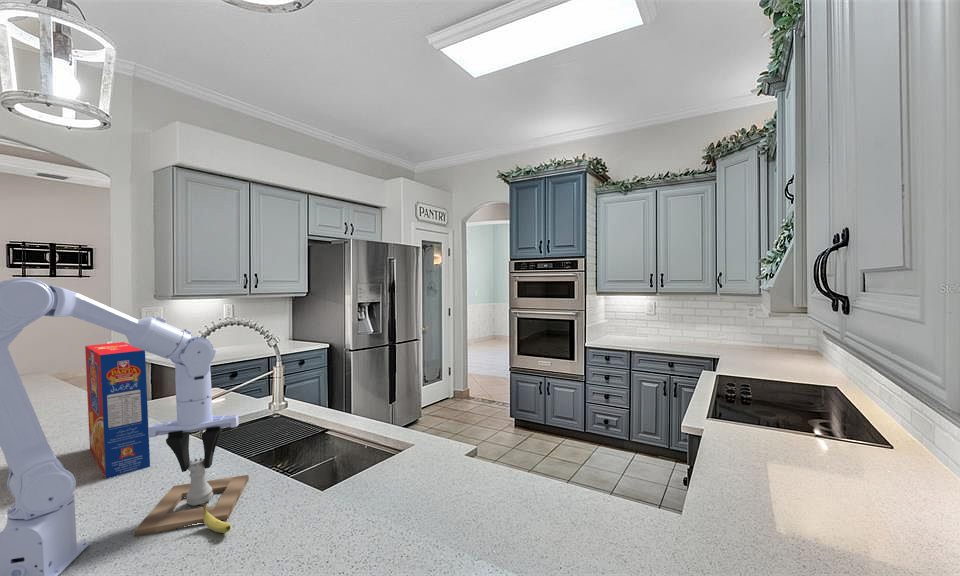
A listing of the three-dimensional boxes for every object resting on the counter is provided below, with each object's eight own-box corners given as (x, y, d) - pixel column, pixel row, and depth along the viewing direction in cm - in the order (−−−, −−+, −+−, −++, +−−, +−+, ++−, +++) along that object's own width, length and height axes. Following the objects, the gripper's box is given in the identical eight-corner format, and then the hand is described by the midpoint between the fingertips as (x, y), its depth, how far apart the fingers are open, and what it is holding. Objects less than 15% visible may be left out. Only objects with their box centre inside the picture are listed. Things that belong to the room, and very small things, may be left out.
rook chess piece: (198, 508, 81) (195, 468, 80) (180, 504, 82) (177, 465, 81) (219, 494, 85) (216, 457, 84) (201, 491, 86) (198, 453, 85)
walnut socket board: (227, 519, 77) (227, 514, 77) (134, 536, 72) (134, 530, 72) (248, 479, 93) (248, 474, 93) (173, 490, 89) (173, 485, 89)
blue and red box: (89, 449, 114) (85, 345, 114) (128, 440, 120) (123, 342, 120) (105, 478, 96) (100, 355, 95) (150, 466, 102) (145, 350, 101)
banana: (198, 528, 74) (197, 505, 74) (208, 523, 76) (207, 500, 76) (225, 540, 70) (224, 516, 70) (235, 534, 72) (234, 511, 72)
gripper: (241, 389, 88) (243, 454, 89) (158, 397, 84) (161, 465, 84) (232, 397, 82) (235, 468, 82) (142, 406, 77) (145, 481, 78)
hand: (197, 468), depth 83 cm, fingers closed on rook chess piece, 3 cm apart
